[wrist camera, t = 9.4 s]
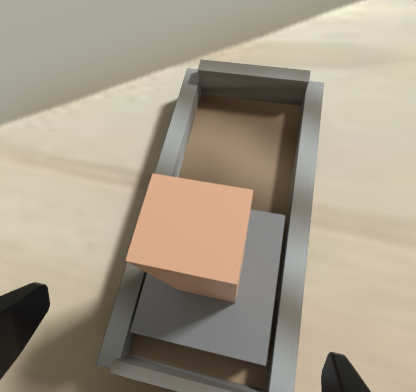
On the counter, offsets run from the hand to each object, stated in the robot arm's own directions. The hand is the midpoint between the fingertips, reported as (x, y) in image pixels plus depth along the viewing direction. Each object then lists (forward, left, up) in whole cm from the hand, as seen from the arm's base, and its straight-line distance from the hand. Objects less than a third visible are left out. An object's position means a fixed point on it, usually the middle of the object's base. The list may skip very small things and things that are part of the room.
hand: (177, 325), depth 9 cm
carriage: (+3, +1, -9) cm, 10 cm away
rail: (+7, +3, -11) cm, 13 cm away
